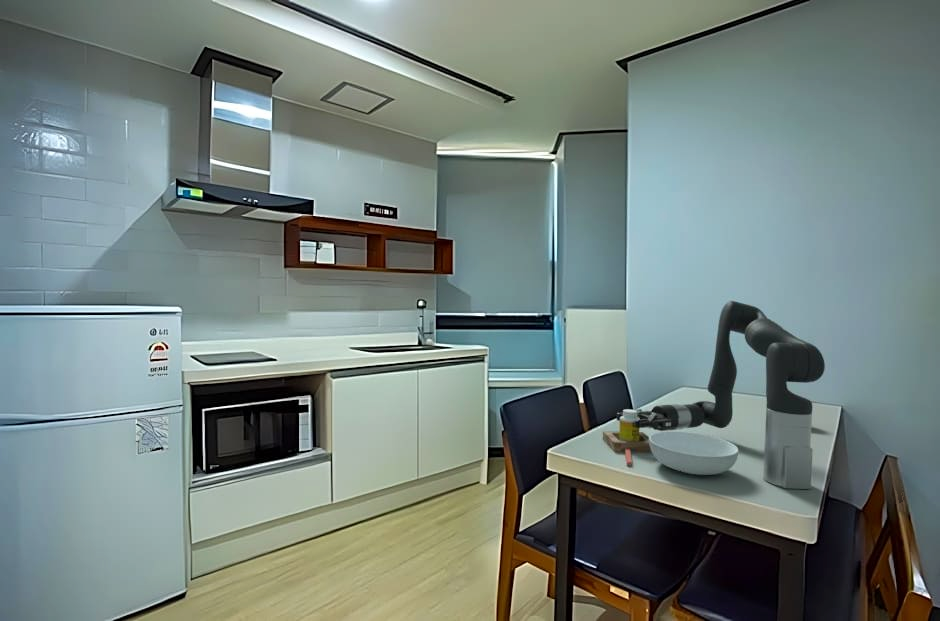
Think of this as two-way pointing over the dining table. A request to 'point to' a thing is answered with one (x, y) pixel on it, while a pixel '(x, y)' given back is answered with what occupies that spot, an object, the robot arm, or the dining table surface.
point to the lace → (628, 457)
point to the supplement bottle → (628, 426)
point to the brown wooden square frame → (626, 442)
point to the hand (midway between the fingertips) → (626, 420)
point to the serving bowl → (693, 452)
